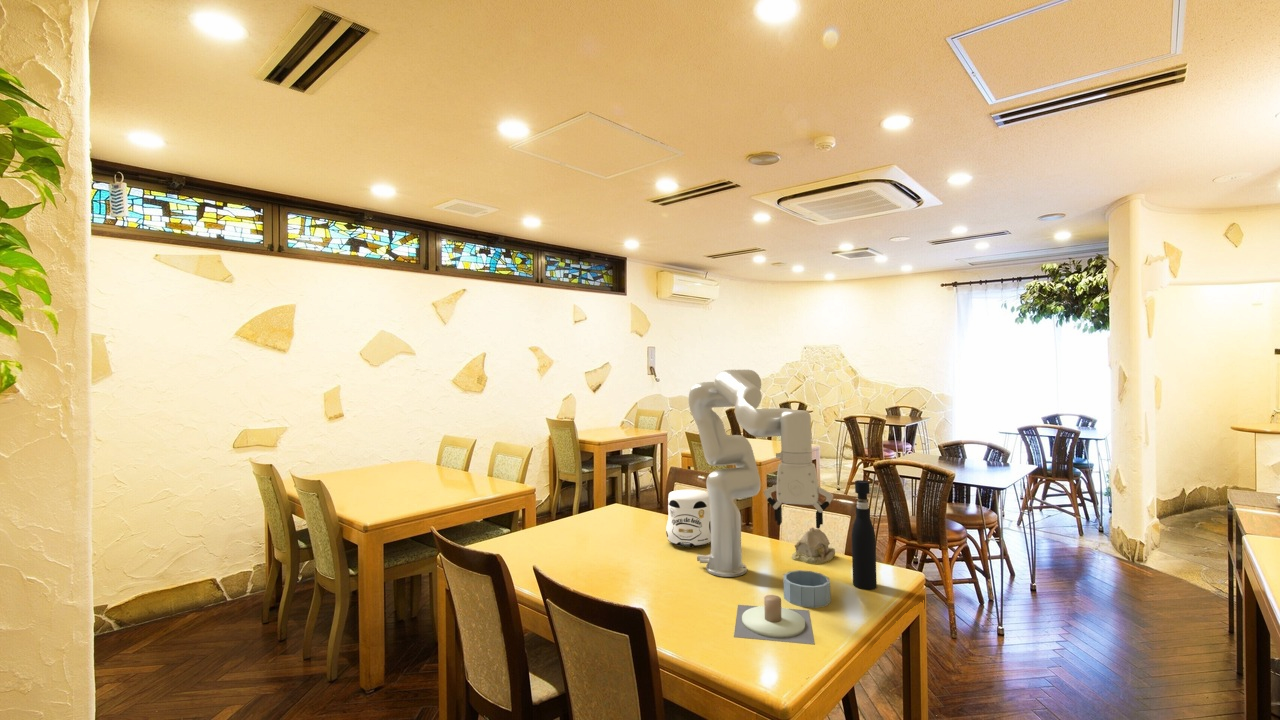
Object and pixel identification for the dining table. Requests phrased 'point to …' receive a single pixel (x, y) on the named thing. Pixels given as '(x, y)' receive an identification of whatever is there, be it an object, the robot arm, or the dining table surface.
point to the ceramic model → (813, 548)
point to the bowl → (806, 588)
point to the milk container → (688, 518)
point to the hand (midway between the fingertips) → (798, 525)
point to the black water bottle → (863, 542)
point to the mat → (803, 637)
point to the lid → (773, 619)
